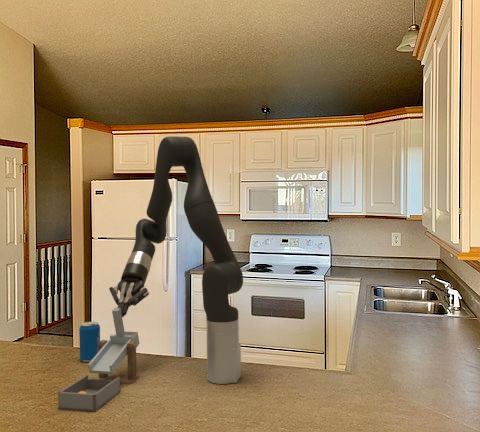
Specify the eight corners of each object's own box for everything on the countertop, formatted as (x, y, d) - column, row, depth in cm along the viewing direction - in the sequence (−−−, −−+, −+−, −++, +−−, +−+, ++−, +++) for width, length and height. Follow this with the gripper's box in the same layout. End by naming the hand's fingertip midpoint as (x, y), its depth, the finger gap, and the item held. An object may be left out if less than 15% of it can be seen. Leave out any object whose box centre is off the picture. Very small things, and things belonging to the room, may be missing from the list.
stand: (140, 378, 139) (139, 340, 139) (132, 384, 134) (131, 345, 134) (103, 375, 142) (103, 338, 141) (95, 381, 137) (94, 343, 137)
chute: (140, 343, 145) (133, 301, 141) (114, 381, 128) (105, 334, 124) (120, 342, 147) (112, 301, 143) (91, 379, 130) (81, 333, 126)
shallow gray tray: (120, 391, 128) (119, 377, 128) (95, 411, 116) (94, 395, 116) (86, 389, 131) (86, 374, 130) (58, 408, 118) (58, 392, 118)
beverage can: (94, 363, 154) (93, 326, 153) (76, 362, 155) (75, 325, 155) (104, 357, 160) (103, 321, 160) (86, 356, 161) (85, 321, 161)
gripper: (113, 261, 151) (94, 307, 139) (153, 261, 148) (136, 309, 136) (121, 276, 156) (103, 321, 144) (159, 276, 153) (144, 323, 141)
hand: (120, 315), depth 140 cm, fingers closed
